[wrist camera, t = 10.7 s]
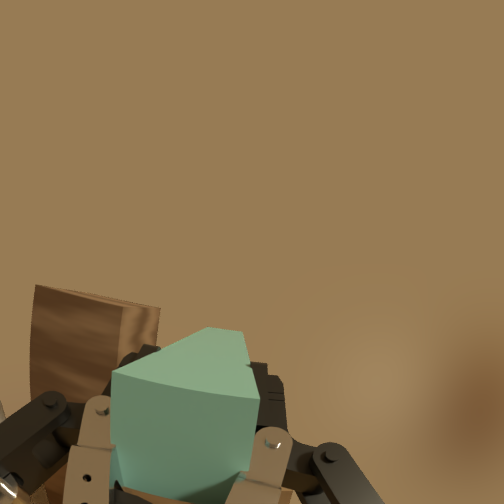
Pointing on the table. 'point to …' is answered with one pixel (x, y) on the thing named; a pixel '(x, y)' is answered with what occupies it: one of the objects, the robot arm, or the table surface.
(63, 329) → the walnut stand
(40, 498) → the table surface
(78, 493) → the robot arm
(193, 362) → the bar
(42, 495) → the table surface
